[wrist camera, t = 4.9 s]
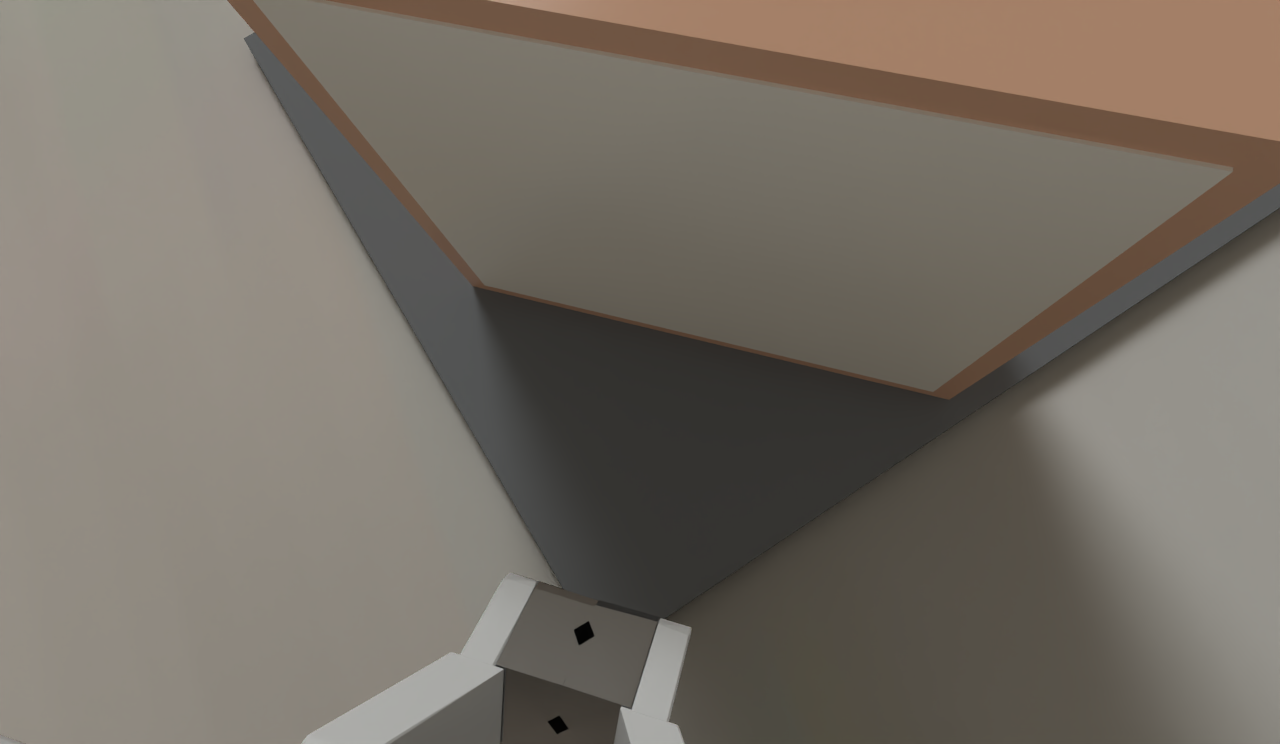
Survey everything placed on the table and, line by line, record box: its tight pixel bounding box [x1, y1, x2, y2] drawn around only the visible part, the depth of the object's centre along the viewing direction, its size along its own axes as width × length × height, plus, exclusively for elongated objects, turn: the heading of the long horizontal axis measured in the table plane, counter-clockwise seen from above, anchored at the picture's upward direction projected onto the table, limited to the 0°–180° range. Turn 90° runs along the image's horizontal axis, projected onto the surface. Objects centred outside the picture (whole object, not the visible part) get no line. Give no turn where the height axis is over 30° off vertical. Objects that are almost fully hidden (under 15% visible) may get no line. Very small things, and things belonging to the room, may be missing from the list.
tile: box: [227, 0, 1280, 400], centre depth 13 cm, size 3×12×11 cm, turn 74°
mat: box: [244, 32, 1280, 620], centre depth 20 cm, size 24×20×1 cm
